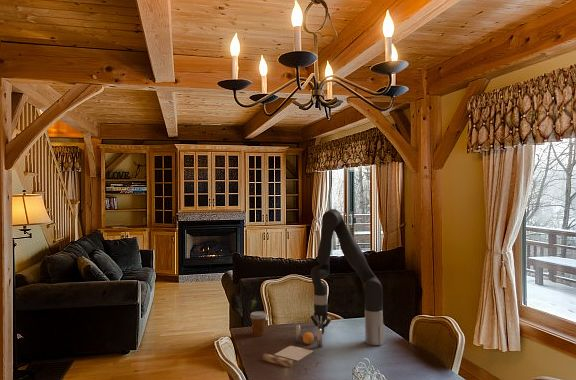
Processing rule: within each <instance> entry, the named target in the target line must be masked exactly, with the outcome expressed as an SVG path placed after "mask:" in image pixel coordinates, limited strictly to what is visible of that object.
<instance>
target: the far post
mask: <svg viewBox="0 0 576 380" xmlns="http://www.w3.org/2000/svg"><path fill="white" fill-rule="evenodd" d="M301 326H302V325H301V324H300V323H297V324H295V342H296V343H297V344H300V343H301V342H302V331H301Z"/></svg>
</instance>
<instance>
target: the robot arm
mask: <svg viewBox="0 0 576 380" xmlns="http://www.w3.org/2000/svg"><path fill="white" fill-rule="evenodd" d="M334 234H335V235H336V237H337V240H338V244H339V247H340V249H341V252H342V254H343V256H344V257H345V259H346V261H347V262H348V264H349V265H350V266H351V267H352V268H351V269H353V270H354V271H355V273H356V274H357V275H358V277H359V279H360V281H361V282H362V285H363V289H364V329H365V330H364V331H365V332H364V333H365V336H364V338H365V343H366V344H367V345H370V346H382V345H384V343H386V335H385V334H386V333H385V332H386V331H385V326H386V325H385V323H384V315H383V313H384V312H383V310H384V309H383V308H384V307H383V305H384V294H383V293H384V289H383V285H382V283H381V281H380V280H379V279H378V277H377V276H376V275H375V273H374V271H372V269H371V268H370V265H369V264H368V260H367V259H366V257H365V255H364V253H363V251H362V249H361V247H360V245H359V244H358V242H357V241H356V239H355V238H354V236H353V235H352V233H351V231H350V229H349V228H348V226H347V224H346V222H345V219H344V217H343V215H342V214H341V212H340V211H339V210H337V209H336V208H331V209H329V210H326V211H325V212H324V213H323V215H322V217H321V234H320V241H319V246H318V251H317V255H316V262H318V263H319V264H320V265H319V266H314V267H313V268H311V270H310V278H311V281H312V285H313V289H314V290H313V310H314V312H313V314H312V315H311V316H310V317H309V319H310V320H311V321H312V323H313V324H314V326H315V327H318V328H321V329H322V335H323V334H325V328H326V327H328V326H329V324H330V323H331V322H332V321H333V318H331V317H329V313H328V311H329V309H328V301H329V300H328V289H327V288H328V285H327V284H326V283H324V282H322V280H323V279H327V278H328V276H329V275H330V271H331V268H330V267H331V266H330V259H331V254H332V248H333V246H332V245H333V243H332V241H333V236H334ZM318 328H317V329H318Z"/></svg>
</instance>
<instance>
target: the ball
mask: <svg viewBox="0 0 576 380" xmlns="http://www.w3.org/2000/svg"><path fill="white" fill-rule="evenodd" d="M314 340H315V337H314V334H313V333H312V332H311V331H308V332H307V331H306V332H305V333H303V335H302V341H303V343H304V344H306V345H312V343H314Z"/></svg>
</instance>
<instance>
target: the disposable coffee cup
mask: <svg viewBox="0 0 576 380" xmlns="http://www.w3.org/2000/svg"><path fill="white" fill-rule="evenodd" d="M267 316H268V314H267V313H266V311H260V310H258V311H253V312H251V313H250V315H249V318H250V321H251V328H252V335H253V336H254V337H258V336H259V337H263V336H265V334H266V333H265V332H266V324H267V323H266V322H267Z"/></svg>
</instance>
